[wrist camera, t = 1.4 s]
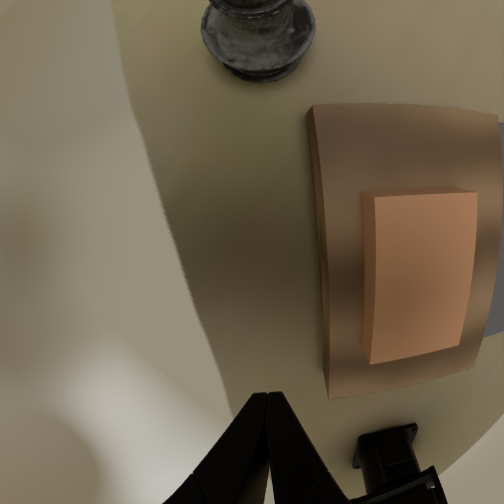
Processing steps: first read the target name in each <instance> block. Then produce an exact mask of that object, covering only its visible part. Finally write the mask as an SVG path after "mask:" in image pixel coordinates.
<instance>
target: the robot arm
mask: <svg viewBox="0 0 504 504" xmlns="http://www.w3.org/2000/svg"><path fill="white" fill-rule="evenodd" d="M417 430H418V426H417V424H412V425H408V426H404V427H400V428H396V429H392V430H388V431H383V432H378V433H374V434H368V435H363V436H361V437H359V438H358V442H357V447H356V452H355V456H354V461H353V469H359V468H362V473H363V478H364V483H365V489H366V494H367V495H365V496H362V497H359V498H356V499H355V498H353V499H350V500H349V499H348V498H347V497H346V496H345V495H344V493H343V492H342V490H341V489H340V487H339V486H338V485H337V483H336V482H335V480H334V478H333V477H332V475H331V474H330V472H328V469H327V467H326V466H325V464H324V462H323V461H322V459H321V457H320V456H319V454H318V452H317V451H316V449H315V447H314V446H313V444H312V442H311V441H310V439H309V437H308V436H307V434H306V432H305V431H304V429H303V427H302V425H301V424H300V422H299V420H298V418H297V417H296V415H295V413H294V412H293V410H292V408H291V406H290V405H289V403H288V401H287V399H286V398H285V396H284V394H283V393H282V392H281V391H279V392H269V393H268V394H267V393H266V392H262V393H253V394H252V395H251V397H250V398H249V399H248V401H247V402H246V404H245V405H244V406H243V408H242V409H241V410H240V412H239V413H238V415H237V416H236V417H235V419H234V420H233V421H232V423H231V424H230V425H229V427H228V428H227V429H226V431H225V432H224V433H223V434H222V436H221V437H220V438H219V440H218V441H217V442H216V444H215V445H214V446H213V447H212V449H211V450H210V451H209V452H208V454H207V455H206V456H205V457H204V459H203V460H202V461H201V462H200V464H199V465H198V466H197V467H196V468H195V470H194V471H193V474H194V475H193V474H190V475H189V477H188V478H187V479H186V480H185V481H184V483H183V484H182V485H181V486H180V487H179V488H178V489H177V490H176V491H175V492H174V493H173V495H171V496H170V497H169V498H168V499H167V500H166V501H165V502H164V503H163V504H264V498H265V492H266V486H267V480H268V474H269V467H270V470H271V477H272V485H273V493H274V500H275V504H448V503H447V500H446V497H445V494H444V491H443V488H442V486H441V483H440V480H439V478H438V475H437V473H436V470H435V467H434V465H433V466H431V467H429V468H428V469H426V470H424V471H422V472H421V470H420V467H419V464H418V461H417V458H416V456H415V453H414V450H413V447H412V442H413V440H414V438H415V435H416V433H417ZM433 486H435V487H434V488H431V487H433Z"/></svg>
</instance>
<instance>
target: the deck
mask: <svg viewBox="0 0 504 504" xmlns="http://www.w3.org/2000/svg"><path fill="white" fill-rule="evenodd" d="M305 117H306V124H307V132H308V139H309V147H310V156H311V164H312V173H313V183H314V193H315V204H316V215H317V228H318V241H319V257H320V275H321V297H322V331H323V373H324V378H325V383H326V389H327V394H328V400H333V399H340V398H347V397H353V396H359V395H365V394H371V393H376V392H381V391H386V390H391V389H396V388H400V387H405V386H409V385H413V384H417V383H421V382H425V381H429V380H433V379H436V378H440V377H443V376H447V375H450V374H453V373H457V372H460V371H463V370H466V369H469V368H472V367H474V365H475V362H476V358H477V355H478V352H479V349H480V345H481V342H482V338H483V335H484V331H485V327H486V323H487V319H488V315H489V310H490V306H491V301H492V296H493V291H494V285H495V279H496V273H497V266H498V258H499V250H500V240H501V228H502V208H503V172H502V153H501V141H500V131H499V123H498V115H495V114H489V113H483V112H476V111H470V110H462V109H454V108H445V107H434V106H422V105H405V104H326V105H312V107H311V108H310V110H309V111H308V112H307V114H306V115H305ZM431 188H461V189H465V190H470V191H474V192H477V230H476V244H475V255H474V265H473V273H472V280H471V287H470V293H469V299H468V305H467V310H466V315H465V320H464V324H463V329H462V333H461V337H460V341H459V345H457V346H453V347H449V348H445V349H442V350H438V351H434V352H429V353H425V354H421V355H417V356H412V357H407V358H403V359H398V360H393V361H388V362H382V363H377V364H371V365H370V364H369V361H368V359H367V356H366V354H365V351H364V349H363V347H362V333H363V314H364V221H363V202H362V192H374V191H390V190H408V189H431Z"/></svg>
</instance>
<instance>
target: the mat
mask: <svg viewBox="0 0 504 504" xmlns="http://www.w3.org/2000/svg"><path fill="white" fill-rule="evenodd" d="M498 123H499V122H498ZM499 131H500V141H501V153H502V172H503V208H502V228H501V240H500V250H499V258H498V266H497V273H496V279H495V285H494V291H493V296H492V301H491V306H490V310H489V315H488V319H487V323H486V327H485V331H484V335H483V338H484V337H487V336H490V335H493V334H496V333H499V332H502V331H504V123H499Z"/></svg>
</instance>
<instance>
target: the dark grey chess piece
mask: <svg viewBox="0 0 504 504" xmlns="http://www.w3.org/2000/svg"><path fill="white" fill-rule="evenodd" d="M209 1H210V2H211V3H210V5H209V6H208V7H207V8H206V10H205V13H204V15H203V17H202V21H201V34H202V38H203V42H204V43H205V45H206V47H207V48H208V50H209V51H210V53H211V54H212V55H214V56H215V57H216V58H217V59H218V60H219V61H221V62H222V63H223V64H224V66H225V68H226V69H227V70H228V71H230V72H231V73H232V74H233V75H235V76H237V77H239V78H240V79H242V80H246V81H250V82H254V83H267V82H272V81H277V80H279V79H281V78H283V77H285V76H287V75H288V74H290V73H291V72H292V71H293V70H295V68H296V67H297V66H298V64H299V63H300V62H301V59H302V56H303V54H304V53H305V52H306V50H307V49H308V48H309V46H310V45H311V43H312V40H313V37H314V34H315V18H314V15H313V13H312V10H311V8H310V7H309V5H308V4H307V3H306V2H305V0H209Z"/></svg>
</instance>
